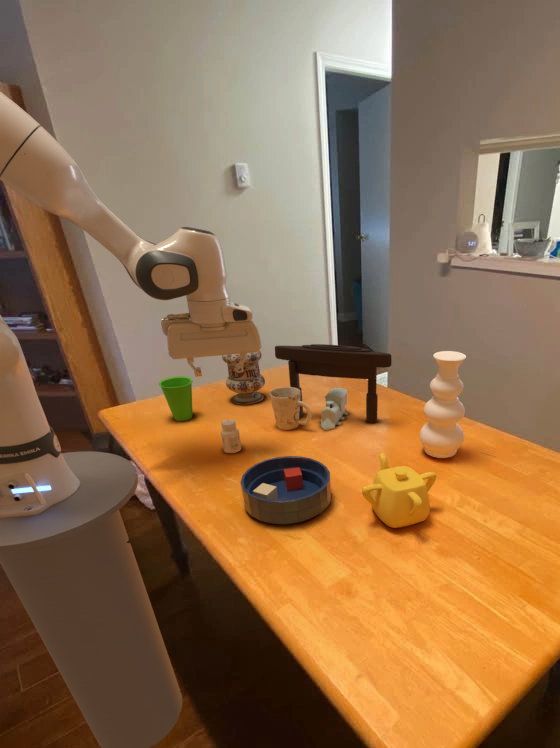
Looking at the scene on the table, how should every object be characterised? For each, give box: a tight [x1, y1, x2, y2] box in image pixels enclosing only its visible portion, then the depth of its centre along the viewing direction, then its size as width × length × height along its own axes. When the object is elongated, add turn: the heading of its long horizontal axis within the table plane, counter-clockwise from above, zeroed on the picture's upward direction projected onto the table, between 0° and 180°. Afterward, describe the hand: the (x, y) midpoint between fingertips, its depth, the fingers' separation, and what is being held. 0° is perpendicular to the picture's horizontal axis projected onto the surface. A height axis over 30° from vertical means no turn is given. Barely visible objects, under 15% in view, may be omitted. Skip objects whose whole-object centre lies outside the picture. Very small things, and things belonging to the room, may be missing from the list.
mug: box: [269, 386, 313, 431], centre depth 127 cm, size 8×13×10 cm, turn 64°
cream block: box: [253, 483, 278, 500], centre depth 95 cm, size 4×4×4 cm
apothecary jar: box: [221, 350, 266, 406], centre depth 143 cm, size 12×12×18 cm
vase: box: [419, 350, 467, 459], centre depth 110 cm, size 11×11×25 cm
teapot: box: [361, 451, 437, 529], centre depth 91 cm, size 14×13×10 cm
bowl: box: [239, 455, 332, 525], centre depth 96 cm, size 18×18×6 cm
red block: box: [284, 467, 303, 491], centre depth 101 cm, size 4×4×4 cm
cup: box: [158, 376, 194, 422], centre depth 133 cm, size 9×9×11 cm
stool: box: [274, 343, 393, 432], centre depth 129 cm, size 16×21×33 cm
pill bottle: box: [220, 419, 242, 454], centre depth 116 cm, size 4×4×8 cm
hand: (219, 373), depth 107 cm, fingers open, 8 cm apart
